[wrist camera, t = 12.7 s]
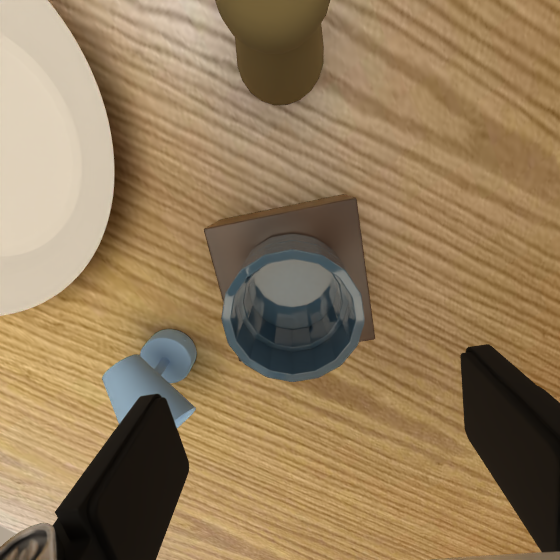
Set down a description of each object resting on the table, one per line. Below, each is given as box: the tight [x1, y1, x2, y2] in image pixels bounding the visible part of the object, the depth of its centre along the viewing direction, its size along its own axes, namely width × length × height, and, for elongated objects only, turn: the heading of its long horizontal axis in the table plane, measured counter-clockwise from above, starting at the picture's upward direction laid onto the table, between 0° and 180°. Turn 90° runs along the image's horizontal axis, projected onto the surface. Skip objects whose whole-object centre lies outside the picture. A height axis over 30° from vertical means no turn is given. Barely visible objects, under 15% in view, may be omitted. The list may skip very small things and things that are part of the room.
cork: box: [215, 0, 330, 105], centre depth 18 cm, size 6×6×11 cm
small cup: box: [221, 233, 365, 382], centre depth 20 cm, size 7×7×6 cm
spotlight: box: [102, 329, 197, 428], centre depth 25 cm, size 5×10×7 cm
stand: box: [204, 194, 375, 361], centre depth 25 cm, size 10×10×5 cm
